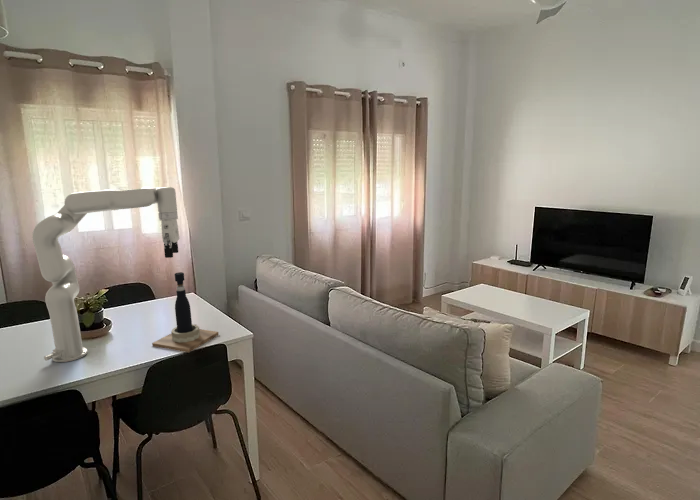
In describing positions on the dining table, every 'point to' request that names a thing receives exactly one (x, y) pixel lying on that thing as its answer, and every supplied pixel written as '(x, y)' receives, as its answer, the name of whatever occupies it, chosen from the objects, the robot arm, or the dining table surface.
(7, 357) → the dining table surface
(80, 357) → the robot arm
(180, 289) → the wine bottle
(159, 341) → the bottle stand
